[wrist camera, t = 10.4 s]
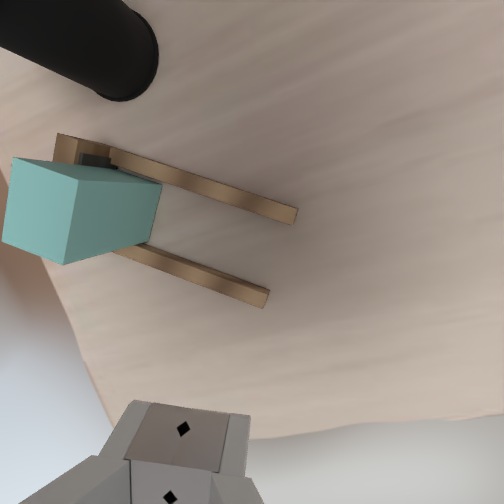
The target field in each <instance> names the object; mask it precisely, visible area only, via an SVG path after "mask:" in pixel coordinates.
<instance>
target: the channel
mask: <svg viewBox="0 0 504 504" xmlns="http://www.w3.org/2000/svg"><path fill="white" fill-rule="evenodd" d="M52 162H58V163H66V164H75V165H83V166H91V167H100V168H108V169H116V166H119V167H122V168H125V169H128V170H131V171H134V172H137V173H139V174H142V175H145V176H148V177H151V178H154V179H157V180H160V181H163V182H166V183H169V184H172V185H175V186H178V187H181V188H183V189H186V190H189V191H192V192H195V193H198V194H201V195H204V196H207V197H210V198H213V199H216V200H219V201H222V202H224V203H227V204H230V205H233V206H236V207H239V208H242V209H245V210H248V211H251V212H254V213H257V214H260V215H263V216H266V217H268V218H271V219H274V220H277V221H280V222H283V223H286V224H289V225H293V223H294V220H295V217H296V214H297V211H298V209H297V208H294V207H291V206H288V205H285V204H282V203H279V202H276V201H273V200H270V199H267V198H264V197H261V196H258V195H255V194H252V193H249V192H246V191H243V190H240V189H237V188H234V187H231V186H228V185H225V184H222V183H219V182H216V181H213V180H210V179H207V178H204V177H201V176H198V175H195V174H192V173H189V172H186V171H183V170H180V169H177V168H174V167H171V166H168V165H165V164H162V163H159V162H156V161H153V160H150V159H147V158H144V157H141V156H138V155H135V154H132V153H129V152H126V151H123V150H120V149H117V148H114V147H111V146H108V145H105V144H102V143H98V142H94V141H90V140H85V139H81V138H77V137H73V136H68V135H64V134H60V133H57V137H56V143H55V149H54V155H53V161H52ZM111 252H113V253H116V254H119V255H121V256H124V257H127V258H129V259H132V260H135V261H137V262H140V263H143V264H145V265H148V266H151V267H153V268H156V269H158V270H161V271H164V272H166V273H169V274H172V275H174V276H177V277H180V278H182V279H185V280H188V281H190V282H193V283H196V284H198V285H201V286H203V287H206V288H209V289H211V290H214V291H217V292H219V293H222V294H225V295H227V296H230V297H233V298H235V299H238V300H241V301H243V302H246V303H249V304H251V305H254V306H256V307H259V308H262V309H263V308H264V305H265V303H266V300H267V297H268V294H269V291H270V290H267V289H265V288H262V287H259V286H257V285H254V284H251V283H248V282H246V281H243V280H240V279H238V278H235V277H232V276H229V275H227V274H224V273H221V272H219V271H216V270H213V269H211V268H208V267H205V266H202V265H200V264H197V263H194V262H192V261H189V260H186V259H183V258H181V257H178V256H175V255H173V254H170V253H167V252H164V251H162V250H159V249H156V248H154V247H151V246H148V245H146V244H143V243H139V244H136V245H132V246H129V247H125V248H122V249H118V250H115V251H111Z"/></svg>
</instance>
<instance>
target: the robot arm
mask: <svg viewBox="0 0 504 504" xmlns="http://www.w3.org/2000/svg"><path fill="white" fill-rule="evenodd" d="M250 421H251V417H250V415H243V414H235V413H231V414H230V413H225V412H217V411H209V410H201V409H193V408H192V409H191V408H185V407H179V406H173V405H166V404H160V403H151V402H145V401H139V400H133V401H132V402H131V403H130V404H129V405H128V407H127V408H126V410H125V412H124V413H123V415H122V417H121V418H120V420H119V422H118V423H117V425H116V427H115V428H114V430H113V432H112V433H111V435H110V437H109V438H108V440H107V442H106V443H105V445H104V447H103V448H102V450H101V452H100V453H99V455H98V456H94V455H91V456H90V457H88V458H87V459H85V460H84V461H82V462H81V463H79V464H78V465H76V466H75V467H73V468H72V469H70V470H69V471H67V472H66V473H64V474H63V475H61V476H60V477H58V478H57V479H55V480H54V481H52V482H51V483H49V484H48V485H46V486H45V487H43V488H42V489H40V490H38V491H37V492H36V493H34V494H32V495H31V496H30V497H28V498H26V499H25V500H23V501H22V502H20V503H19V504H264V503H263V500H262V498H261V497H260V495H259V492H258V491H257V489H256V487H255V485H254V483H253V481H252V479H251V478H247V477H245V469H246V460H247V449H248V440H249V431H250Z"/></svg>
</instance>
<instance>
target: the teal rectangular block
mask: <svg viewBox="0 0 504 504" xmlns="http://www.w3.org/2000/svg"><path fill="white" fill-rule="evenodd" d="M161 189H162V185H161V184H159V183H156V182H153V181H150V180H147V179H144V178H141V177H138V176H135V175H132V174H129V173H126V172H123V171H121V170H117V169H108V168H100V167H91V166H83V165H75V164H66V163H58V162H50V161H41V160H33V159H25V158H16V157H13V163H12V170H11V177H10V184H9V192H8V199H7V206H6V213H5V220H4V228H3V235H2V242H5V243H7V244H10V245H12V246H15V247H18V248H20V249H23V250H25V251H28V252H30V253H33V254H35V255H38V256H40V257H43V258H46V259H48V260H51V261H53V262H56V263H58V264H61V265H65V264H69V263H72V262H76V261H79V260H83V259H87V258H90V257H94V256H97V255H101V254H104V253H108V252H111V251H115V250H118V249H122V248H125V247H129V246H132V245H136V244H139V243H143V242H146V241H149V237H150V233H151V229H152V225H153V221H154V217H155V213H156V209H157V205H158V201H159V197H160V193H161Z"/></svg>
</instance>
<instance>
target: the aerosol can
mask: <svg viewBox="0 0 504 504" xmlns="http://www.w3.org/2000/svg"><path fill="white" fill-rule="evenodd" d="M0 47H2V48H4V49H7V50H9V51H11V52H13V53H15V54H17V55H19V56H22V57H24V58H26V59H28V60H30V61H32V62H34V63H37V64H39V65H41V66H43V67H45V68H47V69H50V70H52V71H54V72H56V73H58V74H60V75H62V76H65V77H67V78H69V79H71V80H73V81H75V82H77V83H80V84H82V85H84V86H86V87H88V88H90V89H92V90H94V91H95V92H96V93H97V94H98V95H100V96H102V97H103V98H105V99H108V100H111V101H118V102H120V101H128V100H131V99H133V98H135V97H137V96H139V95H140V94H141V93H142V92H144V91H145V90H146V89H147V87H148V86H149V84H150V83H151V82H152V80H153V77H154V75H155V73H156V69H157V65H158V45H157V42H156V38H155V35H154V33H153V31H152V28H151V27H150V25H149V24H148V22H147V21H146V20H145V19H144V18H143V17H142V16H141V15H140V14H138V13H137V12H135V11H133V10H131V9H130V8H129V7H128V6H127V5H126V4H125V3H124V2H123V1H122V0H0Z"/></svg>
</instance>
